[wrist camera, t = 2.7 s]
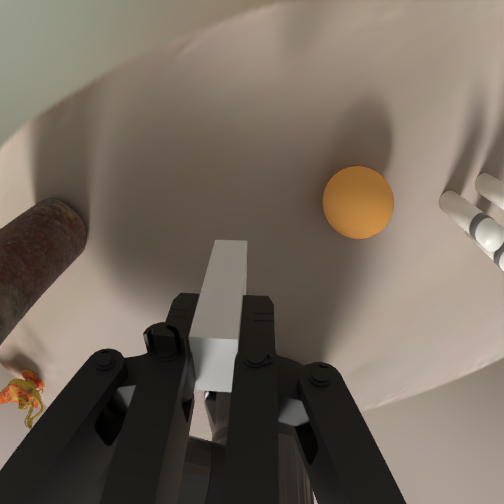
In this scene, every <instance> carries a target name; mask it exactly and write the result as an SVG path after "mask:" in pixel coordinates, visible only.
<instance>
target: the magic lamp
mask: <svg viewBox="0 0 504 504" xmlns="http://www.w3.org/2000/svg"><path fill="white" fill-rule="evenodd" d="M22 375H23V377H24V378H25V380H22V379H13V380H12V381H10V383H9V384H8V385H7V387H5V388H4V389H3V390H2V391H1V392H0V404H3V403H8V402H17V403H19V407H18V408H19V410H22V409H23V408H24V407H26V408H27V406H29V407H30V410H31V411H30V410H29V414H28V415H29V416H28V415H27V417H28V418H27V417H26V419H27V420H28V421H27V425H28V426H27V425H26V423H25V425H26V426H27V427H29V429H32V420H33V419H34V418H36V417H37V416H38V415H40V413H41V412H42V411H43V404H42V403H41V396H40V394H39V391H40V390H43V388H44V383H43V381H42V380H41V379H40V378H39V377H38V376H37V375H36V374H34V373H33V372H31V371H29V370H23V371H22ZM36 388H38V389H40V390H38V391H37V390H36ZM42 393H43V391H42ZM40 405H41V406H42V408H41V410H40V412H39V413H38V414H36V415H35V416H34V417H32V418H30V416H31V413H32V411H33V408H38V407H39V406H40ZM31 407H32V408H31ZM26 408H24V409H26ZM26 419H25V422H26ZM29 419H30V420H29Z"/></svg>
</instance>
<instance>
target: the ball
mask: <svg viewBox="0 0 504 504" xmlns="http://www.w3.org/2000/svg"><path fill="white" fill-rule="evenodd" d="M393 208H394V199H393V193H392V190H391V188H390V186H389V184H388V182H387V181H386V180H385V179H384V178H383V177H382V176H381V175H380V174H379V173H378V172H376V171H374V170H372V169H370V168H367V167H362V166H352V167H348V168H345V169H343V170H341V171H339V172H337V173H336V174H335V175H334V176H333V177H332V178H331V179H330V180H329V182H328V183H327V185H326V187H325V190H324V193H323V210H324V213H325V216H326V218H327V220H328V222H329V223H330V225H331V226H332V227H333V228H334V229H335V230H336V231H337V232H339V233H340V234H342V235H344V236H346V237H349V238H354V239H365V238H369V237H372V236H374V235H376V234H378V233H379V232H380V231H382V230H383V229H384V228H385V227H386V225H387V224H388V222H389V221H390V219H391V216H392V213H393Z"/></svg>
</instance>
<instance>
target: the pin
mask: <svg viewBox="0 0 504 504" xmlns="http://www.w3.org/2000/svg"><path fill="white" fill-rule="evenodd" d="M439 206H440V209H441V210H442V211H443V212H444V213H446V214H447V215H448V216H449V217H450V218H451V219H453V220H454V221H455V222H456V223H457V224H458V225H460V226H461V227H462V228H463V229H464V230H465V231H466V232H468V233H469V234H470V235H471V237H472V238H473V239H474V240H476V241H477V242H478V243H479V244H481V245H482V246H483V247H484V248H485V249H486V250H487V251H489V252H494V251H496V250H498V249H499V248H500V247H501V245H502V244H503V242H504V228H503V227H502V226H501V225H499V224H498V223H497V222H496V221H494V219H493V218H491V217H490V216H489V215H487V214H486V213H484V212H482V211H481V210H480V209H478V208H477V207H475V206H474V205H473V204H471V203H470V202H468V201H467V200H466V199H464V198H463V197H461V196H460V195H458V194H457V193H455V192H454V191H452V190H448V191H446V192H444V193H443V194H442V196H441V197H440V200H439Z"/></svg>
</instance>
